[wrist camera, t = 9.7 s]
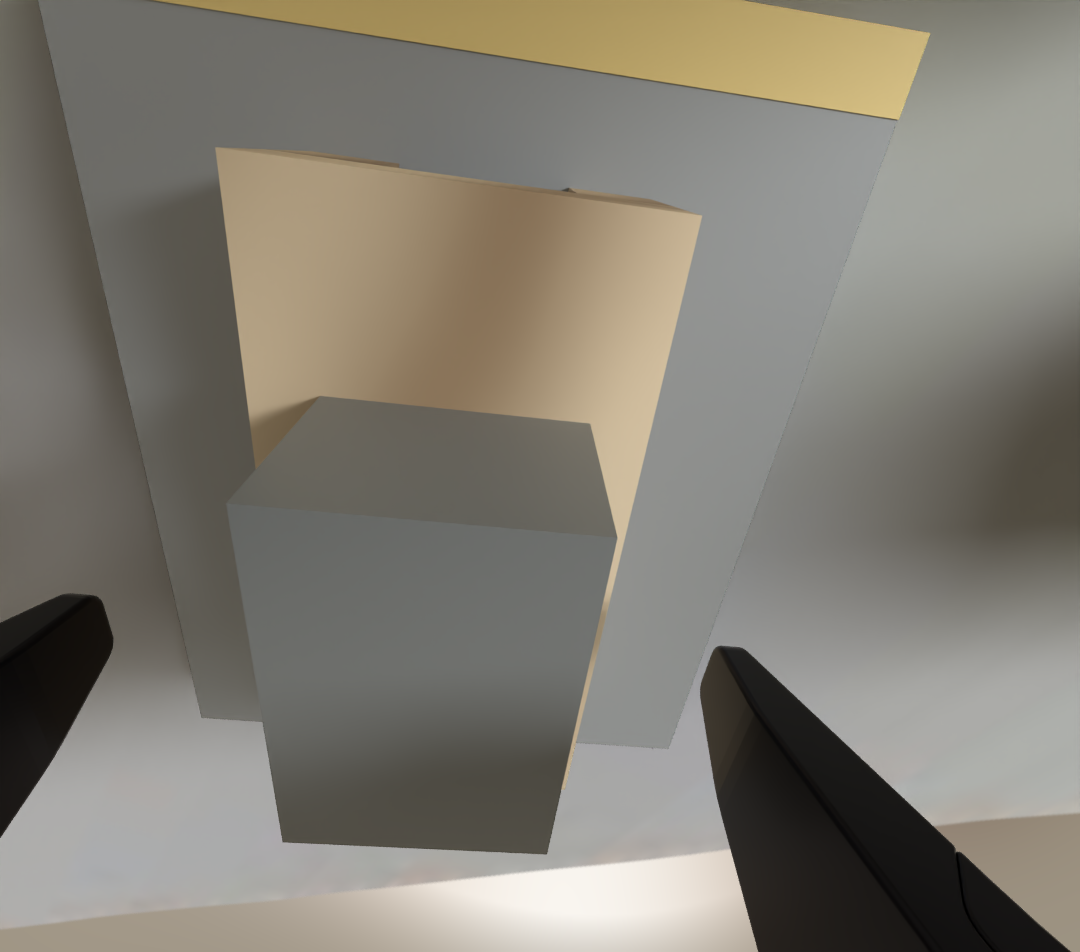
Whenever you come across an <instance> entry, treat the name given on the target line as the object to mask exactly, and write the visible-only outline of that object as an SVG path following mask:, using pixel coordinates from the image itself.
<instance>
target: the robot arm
mask: <svg viewBox="0 0 1080 952" xmlns="http://www.w3.org/2000/svg"><path fill="white" fill-rule="evenodd" d="M112 648H113V635H112V631H111V628H110V625H109V622H108V618H107V615H106V612H105V609H104V605H103V603H102V601H101V600H100V599H99V598H98V597H97V596H94V595H84V594H71V593H70V594H63V595H60V596H57V597H55V598H53V599H51V600H49V601H46V602H44V603H42V604H40V605H38V606H36V607H33V608H31V609H29V610H27V611H25V612H23V613H20V614H18V615H16V616H14V617H12V618H10V619H7V620H5V621H3V622H1V623H0V838H1V836H2V835H3V833H4V832H5V830H6V829H7V827H8V826H9V824H10V823H11V821H12V820H13V818H14V817H15V815H16V814H17V812H18V811H19V809H20V808H21V807H22V805H23V804H24V802H25V801H26V799H27V798H28V796H29V795H30V793H31V792H32V790H33V789H34V787H35V786H36V784H37V783H38V781H39V780H40V778H41V777H42V775H43V774H44V772H45V771H46V769H47V768H48V766H49V764H50V763H51V761H52V760H53V758H54V757H55V755H56V753H57V751H58V750H59V748H60V746H61V745H62V743H63V741H64V739H65V738H66V736H67V734H68V732H69V730H70V728H71V726H72V725H73V723H74V721H75V719H76V717H77V715H78V714H79V712H80V710H81V708H82V706H83V704H84V703H85V701H86V699H87V697H88V695H89V693H90V691H91V690H92V688H93V686H94V684H95V682H96V680H97V679H98V677H99V675H100V673H101V671H102V669H103V667H104V666H105V664H106V662H107V660H108V658H109V656H110V654H111V651H112ZM700 697H701V704H702V710H703V717H704V723H705V729H706V735H707V741H708V748H709V754H710V760H711V766H712V772H713V779H714V784H715V790H716V795H717V800H718V804H719V808H720V812H721V816H722V819H723V823H724V827H725V831H726V834H727V838H728V842H729V845H730V849H731V853H732V856H733V860H734V864H735V867H736V871H737V875H738V878H739V882H740V886H741V890H742V893H743V897H744V901H745V904H746V908H747V912H748V916H749V919H750V923H751V927H752V930H753V934H754V937H755V941H756V945H757V949H758V952H1071V951H1070V950H1068V949H1067V948H1066V947H1065V946H1064V945H1063V944H1061V943H1060V942H1059V941H1058V940H1057V939H1056V938H1055V937H1053V936H1052V935H1051V934H1050V933H1049V932H1048V931H1046V930H1045V929H1044V928H1043V927H1042V926H1041V925H1040V924H1038V923H1037V922H1036V921H1035V920H1034V919H1033V918H1032V917H1031V916H1030V915H1028V914H1027V913H1026V912H1025V911H1024V910H1023V909H1022V908H1021V907H1020V906H1019V905H1017V904H1016V903H1015V902H1014V901H1013V900H1012V899H1011V898H1010V897H1009V896H1008V895H1007V894H1005V893H1004V892H1003V891H1002V890H1001V889H1000V888H999V887H998V886H997V885H996V884H995V883H993V882H992V881H991V880H990V879H989V878H988V877H987V876H986V875H985V874H984V873H983V872H982V871H981V870H979V869H978V868H977V867H976V866H975V865H974V864H973V863H972V862H971V861H970V860H969V859H968V858H967V857H966V856H965V855H963V854H962V853H961V852H956V849H955V847H954V845H953V844H952V843H951V842H949V841H948V840H947V839H946V838H945V837H944V836H943V835H942V834H941V833H940V832H939V831H938V830H937V829H936V828H935V827H934V826H932V825H931V824H930V823H929V822H928V821H927V820H926V819H925V818H924V817H923V816H922V815H921V814H920V813H919V812H918V811H916V810H915V809H914V808H913V807H912V806H911V805H910V804H909V803H908V802H907V801H906V800H905V799H904V798H903V797H902V796H901V795H899V794H898V793H897V792H896V791H895V790H894V789H893V788H892V787H891V786H890V785H889V784H888V783H887V782H886V781H885V780H884V779H882V778H881V777H880V776H879V775H878V774H877V773H876V772H875V771H874V770H873V769H872V768H871V767H870V766H869V765H868V764H867V763H865V762H864V761H863V760H862V759H861V758H860V757H859V756H858V755H857V754H856V753H855V752H854V751H853V750H852V749H851V748H849V747H848V746H847V745H846V744H845V743H844V742H843V741H842V740H841V739H840V738H839V737H838V736H837V735H836V734H835V733H834V732H832V731H831V730H830V729H829V728H828V727H827V726H826V725H825V724H824V723H823V722H822V721H821V720H820V719H819V718H818V717H817V716H815V715H814V714H813V713H812V712H811V711H810V710H809V709H808V708H807V707H806V706H805V705H804V704H803V703H802V702H801V701H800V700H798V699H797V698H796V697H795V696H794V695H793V694H792V693H791V692H790V691H789V690H788V689H787V688H786V687H785V686H784V685H782V684H781V683H780V682H779V681H778V680H777V679H776V678H775V677H774V676H773V675H772V674H771V673H770V672H769V671H768V670H767V669H765V668H764V667H763V666H762V665H761V664H760V663H759V662H758V661H757V660H756V659H755V658H754V657H753V656H752V655H751V654H750V653H748V652H747V651H746V650H745V649H743V648H740V647H730V646H718V647H716V648H715V649H714V650H713V652H712V655H711V658H710V660H709V663H708V666H707V668H706V671H705V674H704V676H703V679H702V682H701V687H700Z"/></svg>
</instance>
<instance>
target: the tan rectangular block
mask: <svg viewBox="0 0 1080 952" xmlns="http://www.w3.org/2000/svg"><path fill="white" fill-rule="evenodd" d="M215 150H216V158H217V166H218V173H219V181H220V189H221V197H222V205H223V213H224V221H225V229H226V237H227V245H228V253H229V261H230V269H231V277H232V285H233V293H234V301H235V309H236V317H237V325H238V333H239V341H240V349H241V357H242V365H243V373H244V381H245V389H246V397H247V405H248V413H249V421H250V429H251V437H252V444H253V452H254V460H255V468H256V469H257V467H258V466H259V465H260V464H261V463H262V462H263V461H264V459H265V458H266V457H267V456H268V455H269V454H270V453H271V451H272V450H273V449H274V448H275V447H276V446H277V445H278V443H279V442H280V441H281V440H282V439H283V438H284V437H285V435H286V434H287V433H288V432H289V431H290V430H291V429H292V428H293V426H294V425H295V424H296V423H297V422H298V421H299V420H300V418H301V417H302V416H303V415H304V414H305V413H306V412H307V410H308V409H309V408H310V407H311V406H312V405H313V404H314V402H315V401H316V400H317V399H318V398H319V397H320V396H327V397H337V398H346V399H356V400H366V401H376V402H385V403H395V404H405V405H415V406H424V407H434V408H444V409H453V410H463V411H473V412H483V413H492V414H502V415H512V416H522V417H531V418H541V419H551V420H560V421H570V422H580V423H590V425H591V429H592V433H593V437H594V441H595V446H596V450H597V454H598V458H599V462H600V466H601V471H602V475H603V479H604V483H605V487H606V492H607V496H608V500H609V504H610V508H611V512H612V517H613V521H614V525H615V529H616V533H617V537H618V538H617V543H616V547H615V552H614V556H613V561H612V565H611V570H610V574H609V579H608V583H607V587H606V592H605V596H604V601H603V605H602V610H601V614H600V619H599V623H598V628H597V632H596V637H595V641H594V646H593V650H592V655H591V659H590V664H589V668H588V673H587V677H586V682H585V686H584V690H583V695H582V699H581V704H580V708H579V713H578V717H577V722H576V726H575V731H574V735H573V740H572V744H571V749H570V753H569V758H568V762H567V767H566V771H565V776H564V780H563V784H562V789H563V790H565V786H566V782H567V778H568V774H569V769H570V765H571V761H572V757H573V753H574V749H575V744H576V740H577V736H578V732H579V728H580V724H581V719H582V715H583V711H584V707H585V703H586V699H587V694H588V690H589V686H590V682H591V678H592V674H593V669H594V665H595V661H596V657H597V653H598V649H599V644H600V640H601V636H602V632H603V628H604V623H605V619H606V615H607V611H608V607H609V603H610V598H611V594H612V590H613V586H614V582H615V578H616V573H617V569H618V565H619V561H620V557H621V553H622V548H623V544H624V540H625V536H626V532H627V528H628V523H629V519H630V515H631V511H632V507H633V503H634V498H635V494H636V490H637V486H638V482H639V478H640V473H641V469H642V465H643V461H644V457H645V453H646V448H647V444H648V440H649V436H650V432H651V428H652V423H653V419H654V415H655V411H656V407H657V403H658V398H659V394H660V390H661V386H662V382H663V378H664V373H665V369H666V365H667V361H668V357H669V353H670V348H671V344H672V340H673V336H674V332H675V328H676V323H677V319H678V315H679V311H680V307H681V303H682V298H683V294H684V290H685V286H686V282H687V278H688V273H689V269H690V265H691V261H692V257H693V253H694V248H695V244H696V240H697V236H698V232H699V228H700V223H701V219H702V215H699V214H696V213H692V212H689V211H686V210H683V209H680V208H677V207H674V206H670V205H667V204H664V203H661V202H658V201H655V200H652V199H646V198H639V197H632V196H625V195H618V194H610V193H603V192H596V191H589V190H582V189H575V188H569V190H568V192H565V191H557V190H550V189H543V188H536V187H529V186H522V185H515V184H508V183H501V182H494V181H487V180H480V179H472V178H465V177H458V176H451V175H444V174H437V173H430V172H423V171H416V170H409V169H402V168H399V163H392V162H385V161H378V160H371V159H364V158H357V157H349V156H342V155H335V154H328V153H321V152H314V151H296V150H271V149H246V148H221V147H215Z"/></svg>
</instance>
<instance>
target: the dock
mask: <svg viewBox="0 0 1080 952" xmlns="http://www.w3.org/2000/svg"><path fill="white" fill-rule="evenodd" d="M38 3H39V8H40V12H41V17H42V21H43V25H44V30H45V34H46V38H47V43H48V47H49V52H50V56H51V60H52V65H53V69H54V73H55V78H56V82H57V87H58V91H59V95H60V100H61V104H62V109H63V113H64V117H65V122H66V126H67V130H68V135H69V139H70V144H71V148H72V152H73V157H74V161H75V166H76V170H77V174H78V179H79V183H80V187H81V192H82V196H83V201H84V205H85V209H86V214H87V218H88V222H89V227H90V231H91V236H92V240H93V244H94V249H95V253H96V258H97V262H98V266H99V271H100V275H101V279H102V284H103V288H104V293H105V297H106V301H107V306H108V310H109V315H110V319H111V323H112V328H113V332H114V336H115V341H116V345H117V350H118V354H119V358H120V363H121V367H122V371H123V376H124V380H125V385H126V389H127V393H128V398H129V402H130V407H131V411H132V415H133V420H134V424H135V428H136V433H137V437H138V442H139V446H140V450H141V455H142V459H143V463H144V468H145V472H146V477H147V481H148V485H149V490H150V494H151V499H152V503H153V507H154V512H155V516H156V520H157V525H158V529H159V534H160V538H161V542H162V547H163V551H164V556H165V560H166V564H167V569H168V573H169V577H170V582H171V586H172V591H173V595H174V599H175V604H176V608H177V612H178V617H179V621H180V626H181V630H182V634H183V639H184V643H185V648H186V652H187V656H188V661H189V665H190V669H191V674H192V678H193V683H194V687H195V691H196V696H197V700H198V705H199V709H200V713H201V718H213V719H228V720H243V721H258V722H263V721H262V715H261V709H260V703H259V697H258V691H257V685H256V680H255V674H254V668H253V662H252V656H251V650H250V644H249V638H248V632H247V626H246V620H245V614H244V608H243V602H242V596H241V590H240V584H239V578H238V572H237V566H236V560H235V554H234V548H233V542H232V536H231V530H230V524H229V518H228V512H227V506H226V503H227V502H228V501H229V499H230V498H231V497H232V496H233V495H234V494H235V493H236V491H237V490H238V489H239V488H240V487H241V486H242V485H243V483H244V482H245V481H246V480H247V479H248V478H249V477H250V475H251V474H252V473H253V472H254V471H255V470H256V468H255V460H254V452H253V444H252V437H251V429H250V421H249V413H248V405H247V397H246V389H245V381H244V373H243V365H242V357H241V349H240V341H239V333H238V325H237V317H236V309H235V301H234V293H233V285H232V277H231V269H230V261H229V253H228V245H227V237H226V229H225V221H224V213H223V205H222V197H221V189H220V181H219V173H218V166H217V158H216V150H215V147H221V148H246V149H271V150H296V151H314V152H321V153H328V154H335V155H342V156H349V157H357V158H364V159H371V160H378V161H385V162H392V163H399V168H402V169H409V170H416V171H423V172H430V173H437V174H444V175H451V176H458V177H465V178H472V179H480V180H487V181H494V182H501V183H508V184H515V185H522V186H529V187H536V188H543V189H550V190H557V191H565V192H568V190H569V188H575V189H582V190H589V191H596V192H603V193H610V194H618V195H625V196H632V197H639V198H646V199H652V200H655V201H658V202H661V203H664V204H667V205H670V206H674V207H677V208H680V209H683V210H686V211H689V212H692V213H696V214H699V215H702V219H701V223H700V228H699V232H698V236H697V240H696V244H695V248H694V253H693V257H692V261H691V265H690V269H689V273H688V278H687V282H686V286H685V290H684V294H683V298H682V303H681V307H680V311H679V315H678V319H677V323H676V328H675V332H674V336H673V340H672V344H671V348H670V353H669V357H668V361H667V365H666V369H665V373H664V378H663V382H662V386H661V390H660V394H659V398H658V403H657V407H656V411H655V415H654V419H653V423H652V428H651V432H650V436H649V440H648V444H647V448H646V453H645V457H644V461H643V465H642V469H641V473H640V478H639V482H638V486H637V490H636V494H635V498H634V503H633V507H632V511H631V515H630V519H629V523H628V528H627V532H626V536H625V540H624V544H623V548H622V553H621V557H620V561H619V565H618V569H617V573H616V578H615V582H614V586H613V590H612V594H611V598H610V603H609V607H608V611H607V615H606V619H605V623H604V628H603V632H602V636H601V640H600V644H599V649H598V653H597V657H596V661H595V665H594V669H593V674H592V678H591V682H590V686H589V690H588V694H587V699H586V703H585V707H584V711H583V715H582V719H581V724H580V728H579V732H578V736H577V740H576V743H586V744H601V745H616V746H631V747H646V748H661V749H669V746H670V744H671V741H672V738H673V735H674V733H675V730H676V727H677V724H678V722H679V719H680V716H681V713H682V711H683V708H684V705H685V702H686V700H687V697H688V694H689V691H690V689H691V686H692V683H693V680H694V678H695V675H696V672H697V669H698V667H699V664H700V661H701V658H702V656H703V653H704V650H705V647H706V645H707V642H708V639H709V636H710V634H711V631H712V628H713V625H714V623H715V620H716V617H717V614H718V612H719V609H720V606H721V603H722V601H723V598H724V595H725V592H726V590H727V587H728V584H729V581H730V579H731V576H732V573H733V570H734V568H735V565H736V562H737V559H738V557H739V554H740V551H741V548H742V546H743V543H744V540H745V537H746V535H747V532H748V529H749V527H750V524H751V521H752V518H753V516H754V513H755V510H756V507H757V505H758V502H759V499H760V496H761V494H762V491H763V488H764V485H765V483H766V480H767V477H768V474H769V472H770V469H771V466H772V463H773V461H774V458H775V455H776V452H777V450H778V447H779V444H780V441H781V439H782V436H783V433H784V430H785V428H786V425H787V422H788V419H789V417H790V414H791V411H792V408H793V406H794V403H795V400H796V397H797V395H798V392H799V389H800V386H801V384H802V381H803V378H804V375H805V373H806V370H807V367H808V364H809V362H810V359H811V356H812V353H813V351H814V348H815V345H816V342H817V340H818V337H819V334H820V331H821V329H822V326H823V323H824V320H825V318H826V315H827V312H828V309H829V307H830V304H831V301H832V299H833V296H834V293H835V290H836V288H837V285H838V282H839V279H840V277H841V274H842V271H843V268H844V266H845V263H846V260H847V257H848V255H849V252H850V249H851V246H852V244H853V241H854V238H855V235H856V233H857V230H858V227H859V224H860V222H861V219H862V216H863V213H864V211H865V208H866V205H867V202H868V200H869V197H870V194H871V191H872V189H873V186H874V183H875V180H876V178H877V175H878V172H879V169H880V167H881V164H882V161H883V158H884V156H885V153H886V150H887V147H888V145H889V142H890V139H891V136H892V134H893V131H894V128H895V125H896V123H897V120H899V118H900V115H901V112H902V110H903V107H904V104H905V101H906V99H907V96H908V93H909V91H910V88H911V85H912V82H913V80H914V77H915V74H916V71H917V69H918V66H919V63H920V60H921V58H922V55H923V52H924V49H925V47H926V44H927V41H928V38H929V36H930V33H927V32H921V31H916V30H910V29H904V28H898V27H893V26H887V25H881V24H875V23H870V22H864V21H858V20H853V19H847V18H841V17H835V16H830V15H824V14H818V13H812V12H807V11H801V10H795V9H789V8H784V7H778V6H772V5H766V4H761V3H755V2H749V1H743V0H38Z"/></svg>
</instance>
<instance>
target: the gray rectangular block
mask: <svg viewBox="0 0 1080 952" xmlns="http://www.w3.org/2000/svg"><path fill="white" fill-rule="evenodd" d="M226 506H227V512H228V518H229V524H230V530H231V536H232V542H233V548H234V554H235V560H236V566H237V572H238V578H239V584H240V590H241V596H242V602H243V608H244V614H245V620H246V626H247V632H248V638H249V644H250V650H251V656H252V662H253V668H254V674H255V680H256V685H257V691H258V697H259V703H260V709H261V715H262V721H263V727H264V733H265V739H266V745H267V751H268V757H269V763H270V769H271V775H272V781H273V787H274V793H275V799H276V805H277V811H278V817H279V823H280V829H281V835H282V841H283V842H289V843H311V844H333V845H354V846H376V847H398V848H420V849H441V850H463V851H485V852H507V853H528V854H547V852H548V847H549V843H550V838H551V834H552V829H553V825H554V820H555V816H556V811H557V807H558V802H559V798H560V793H561V789H562V784H563V780H564V776H565V771H566V767H567V762H568V758H569V753H570V749H571V744H572V740H573V735H574V731H575V726H576V722H577V717H578V713H579V708H580V704H581V699H582V695H583V690H584V686H585V682H586V677H587V673H588V668H589V664H590V659H591V655H592V650H593V646H594V641H595V637H596V632H597V628H598V623H599V619H600V614H601V610H602V605H603V601H604V596H605V592H606V587H607V583H608V579H609V574H610V570H611V565H612V561H613V556H614V552H615V547H616V543H617V538H618V537H617V533H616V529H615V525H614V521H613V517H612V512H611V508H610V504H609V500H608V496H607V492H606V487H605V483H604V479H603V475H602V471H601V466H600V462H599V458H598V454H597V450H596V446H595V441H594V437H593V433H592V429H591V425H590V423H580V422H570V421H560V420H551V419H541V418H531V417H522V416H512V415H502V414H492V413H483V412H473V411H463V410H453V409H444V408H434V407H424V406H415V405H405V404H395V403H385V402H376V401H366V400H356V399H346V398H337V397H327V396H320V397H319V398H318V399H317V400H316V401H315V402H314V404H313V405H312V406H311V407H310V408H309V409H308V410H307V412H306V413H305V414H304V415H303V416H302V417H301V418H300V420H299V421H298V422H297V423H296V424H295V425H294V426H293V428H292V429H291V430H290V431H289V432H288V433H287V434H286V435H285V437H284V438H283V439H282V440H281V441H280V442H279V443H278V445H277V446H276V447H275V448H274V449H273V450H272V451H271V453H270V454H269V455H268V456H267V457H266V458H265V459H264V461H263V462H262V463H261V464H260V465H259V466H258V467H257V469H256V470H255V471H254V472H253V473H252V474H251V475H250V477H249V478H248V479H247V480H246V481H245V482H244V483H243V485H242V486H241V487H240V488H239V489H238V490H237V491H236V493H235V494H234V495H233V496H232V497H231V498H230V499H229V501H228V502H227V503H226Z"/></svg>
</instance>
